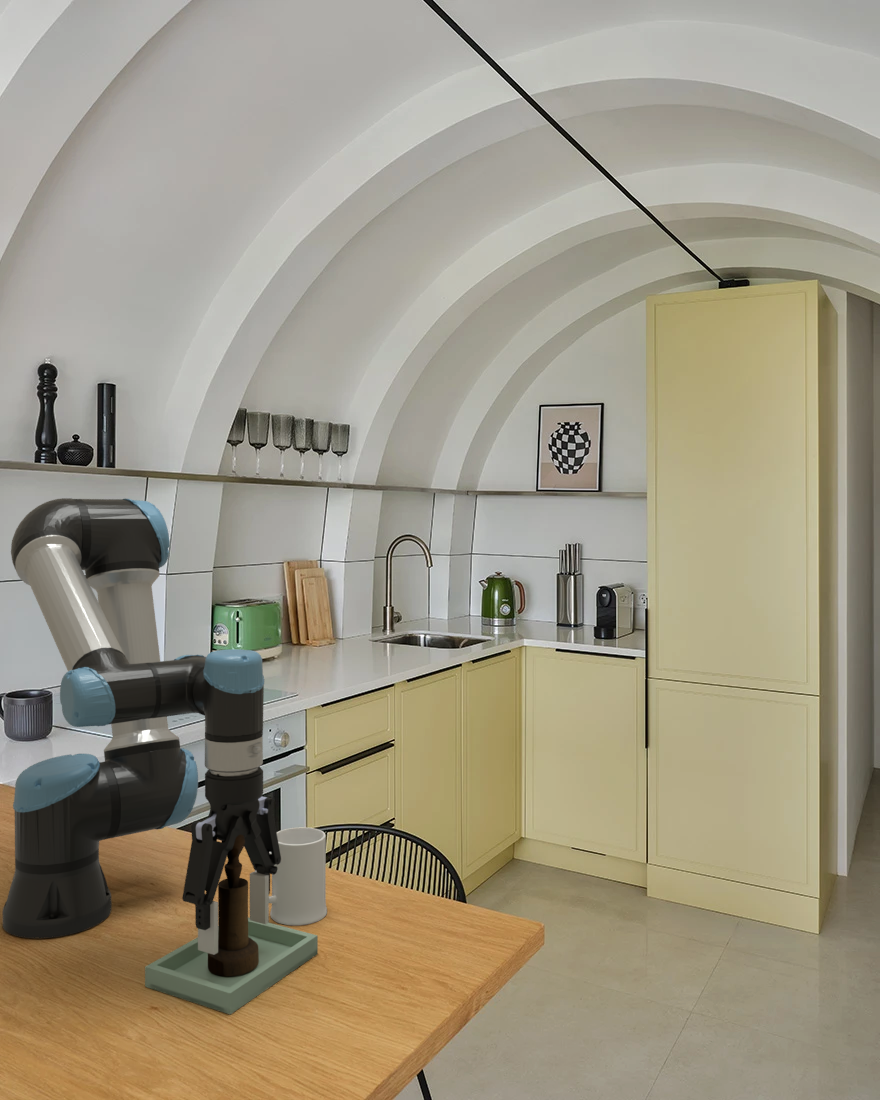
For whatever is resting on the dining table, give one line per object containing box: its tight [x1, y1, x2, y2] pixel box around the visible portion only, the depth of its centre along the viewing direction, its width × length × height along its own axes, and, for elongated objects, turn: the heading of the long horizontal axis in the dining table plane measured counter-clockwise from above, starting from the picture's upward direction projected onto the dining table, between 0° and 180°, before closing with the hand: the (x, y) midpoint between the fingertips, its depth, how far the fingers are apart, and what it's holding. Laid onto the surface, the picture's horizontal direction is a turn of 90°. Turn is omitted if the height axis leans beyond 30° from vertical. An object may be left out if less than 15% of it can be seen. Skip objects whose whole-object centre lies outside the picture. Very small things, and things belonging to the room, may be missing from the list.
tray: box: [144, 916, 319, 1015], centre depth 124 cm, size 14×18×3 cm
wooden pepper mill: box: [208, 835, 259, 977], centre depth 124 cm, size 7×6×18 cm
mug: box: [253, 826, 328, 927], centre depth 141 cm, size 12×8×12 cm
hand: (234, 935), depth 124 cm, fingers open, 9 cm apart
